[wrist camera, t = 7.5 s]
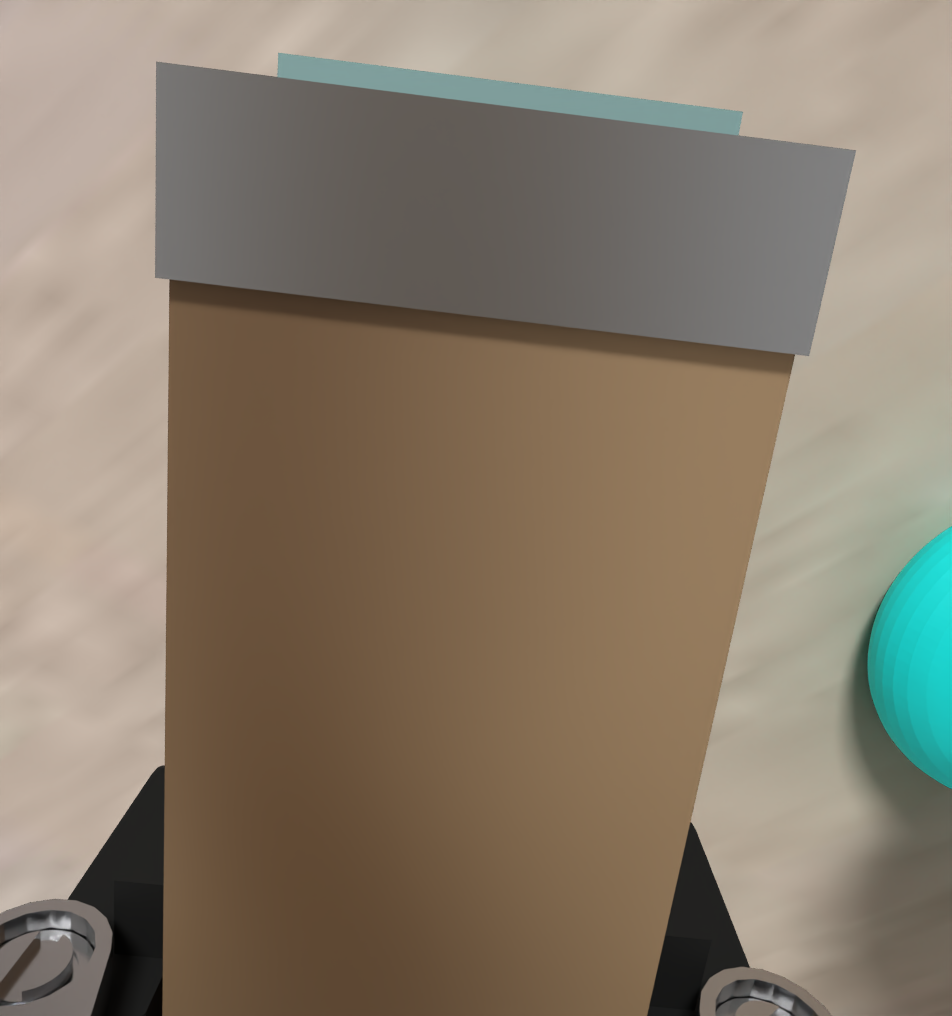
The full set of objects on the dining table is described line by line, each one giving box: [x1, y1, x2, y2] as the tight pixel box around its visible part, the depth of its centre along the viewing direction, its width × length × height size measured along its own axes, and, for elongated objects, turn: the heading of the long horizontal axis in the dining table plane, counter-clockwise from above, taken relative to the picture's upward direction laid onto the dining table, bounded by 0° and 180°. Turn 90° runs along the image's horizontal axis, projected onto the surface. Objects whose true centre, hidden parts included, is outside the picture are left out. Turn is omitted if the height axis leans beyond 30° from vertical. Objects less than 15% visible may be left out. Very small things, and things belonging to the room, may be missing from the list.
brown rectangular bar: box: [155, 62, 856, 1016], centre depth 9 cm, size 4×16×5 cm, turn 173°
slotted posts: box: [277, 53, 743, 135], centre depth 20 cm, size 8×20×10 cm, turn 173°
